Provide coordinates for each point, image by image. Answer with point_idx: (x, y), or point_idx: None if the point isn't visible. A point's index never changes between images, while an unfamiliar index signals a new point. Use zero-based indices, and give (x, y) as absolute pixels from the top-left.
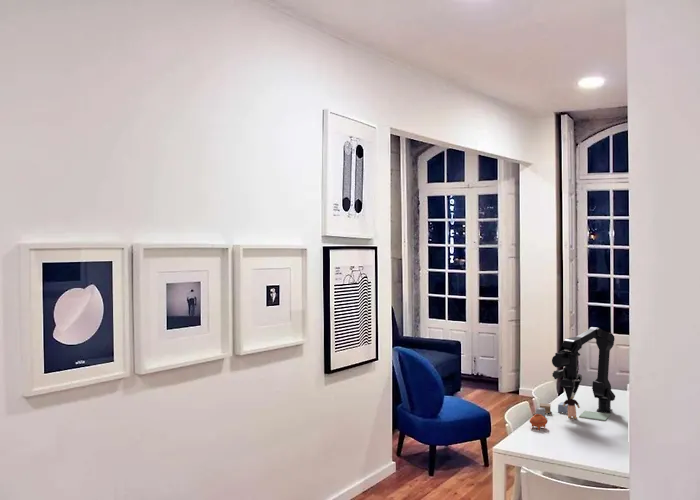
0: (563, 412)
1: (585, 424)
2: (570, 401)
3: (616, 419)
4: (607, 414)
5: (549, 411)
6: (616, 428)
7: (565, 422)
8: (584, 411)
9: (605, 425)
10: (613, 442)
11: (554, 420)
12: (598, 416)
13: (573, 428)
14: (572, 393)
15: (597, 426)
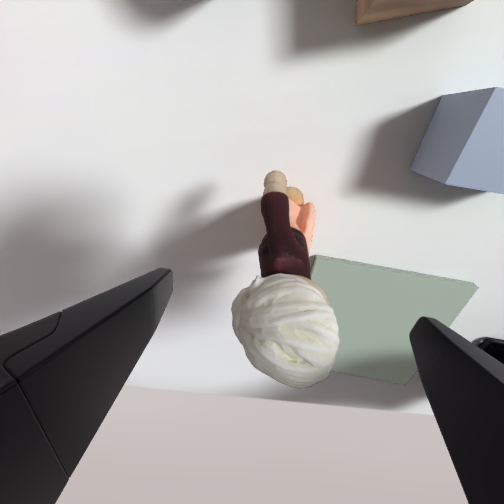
0: (422, 147)
1: (179, 284)
2: (262, 269)
3: (331, 390)
4: (395, 376)
5: (363, 3)
6: (188, 378)
7: (157, 184)
8: (453, 286)
9: (210, 352)
10: None
11: (163, 100)
12: (341, 343)
13: (67, 234)
14: (259, 365)
15: (176, 327)
